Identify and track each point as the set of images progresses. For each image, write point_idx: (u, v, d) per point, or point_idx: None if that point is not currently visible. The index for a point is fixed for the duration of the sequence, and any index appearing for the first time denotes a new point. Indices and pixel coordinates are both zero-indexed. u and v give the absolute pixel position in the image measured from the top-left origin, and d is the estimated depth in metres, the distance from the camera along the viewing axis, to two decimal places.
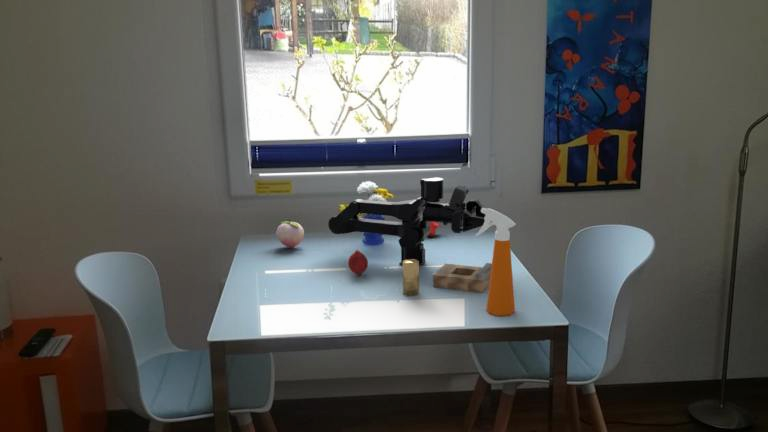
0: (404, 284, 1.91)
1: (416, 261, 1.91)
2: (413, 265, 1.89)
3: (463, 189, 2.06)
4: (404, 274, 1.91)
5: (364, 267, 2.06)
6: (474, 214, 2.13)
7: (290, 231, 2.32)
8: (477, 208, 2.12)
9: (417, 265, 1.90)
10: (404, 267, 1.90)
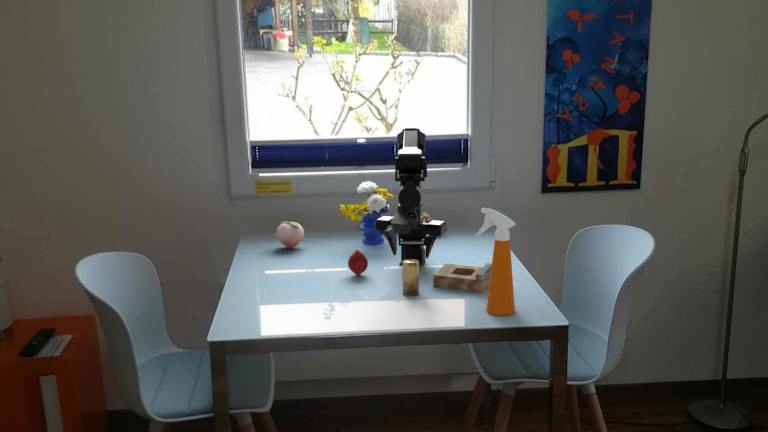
0: (404, 284, 1.91)
1: (416, 261, 1.91)
2: (413, 265, 1.89)
3: (398, 230, 1.82)
4: (404, 274, 1.91)
5: (364, 267, 2.06)
6: None
7: (290, 231, 2.32)
8: None
9: (417, 265, 1.90)
10: (404, 267, 1.90)
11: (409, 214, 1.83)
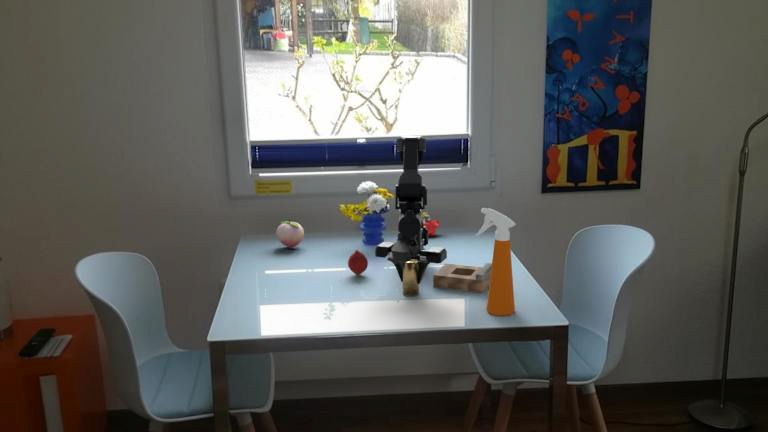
0: (404, 284, 1.91)
1: (416, 261, 1.91)
2: (413, 265, 1.89)
3: (398, 258, 1.83)
4: (404, 274, 1.91)
5: (364, 267, 2.06)
6: None
7: (290, 231, 2.32)
8: None
9: (417, 265, 1.90)
10: (404, 267, 1.90)
11: (409, 241, 1.85)
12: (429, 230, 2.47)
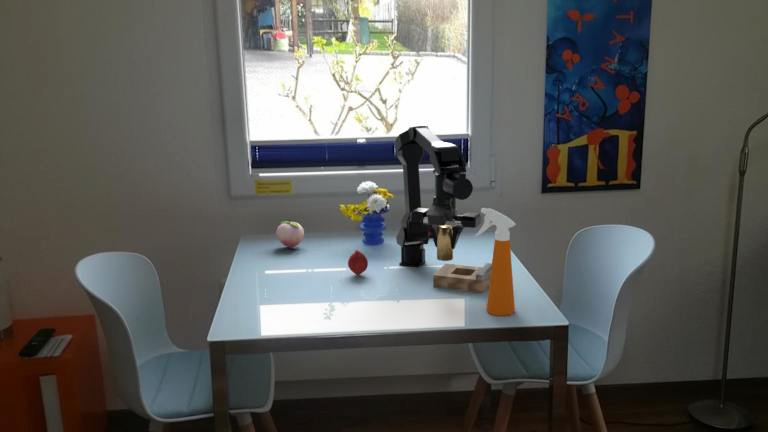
0: (438, 249, 1.94)
1: (450, 226, 1.93)
2: (447, 230, 1.91)
3: (433, 222, 1.86)
4: (438, 239, 1.93)
5: (364, 267, 2.06)
6: None
7: (290, 231, 2.32)
8: None
9: (451, 230, 1.92)
10: (438, 232, 1.92)
11: (444, 206, 1.88)
12: None
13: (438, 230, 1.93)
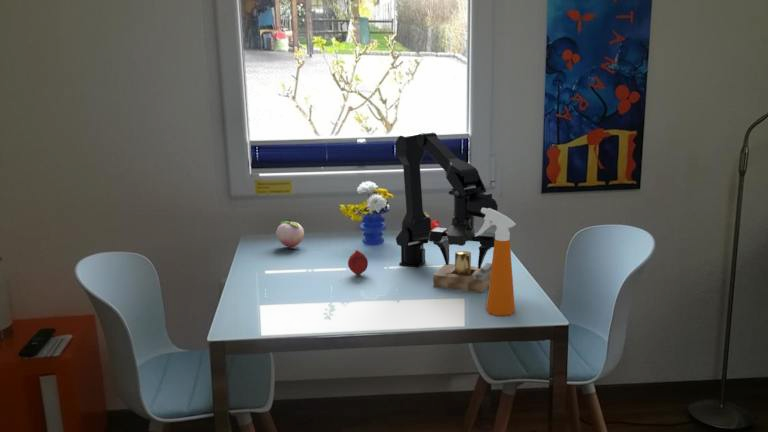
0: None
1: (468, 252, 1.98)
2: (466, 256, 1.96)
3: (453, 242, 1.90)
4: (457, 265, 1.98)
5: (364, 267, 2.06)
6: None
7: (290, 231, 2.32)
8: None
9: (469, 256, 1.97)
10: (457, 258, 1.97)
11: (464, 226, 1.92)
12: None
13: (456, 256, 1.97)
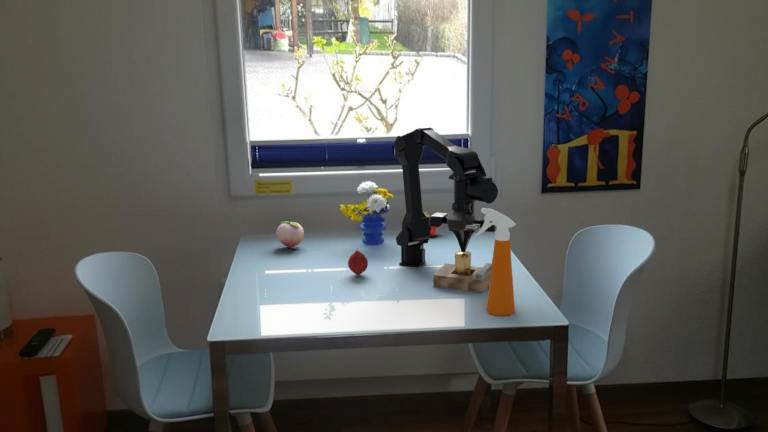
0: None
1: (468, 252, 1.98)
2: (466, 256, 1.96)
3: (453, 226, 1.89)
4: (457, 265, 1.98)
5: (364, 267, 2.06)
6: None
7: (290, 231, 2.32)
8: None
9: (469, 256, 1.97)
10: (457, 258, 1.97)
11: (464, 211, 1.91)
12: None
13: (456, 256, 1.97)
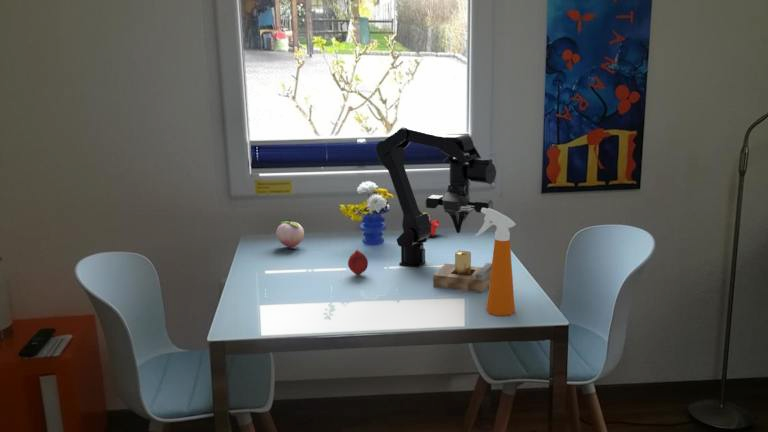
0: None
1: (468, 252, 1.98)
2: (466, 256, 1.96)
3: (448, 207, 1.97)
4: (457, 265, 1.98)
5: (364, 267, 2.06)
6: None
7: (290, 231, 2.32)
8: None
9: (469, 256, 1.97)
10: (457, 258, 1.97)
11: (459, 192, 1.99)
12: None
13: (456, 256, 1.97)
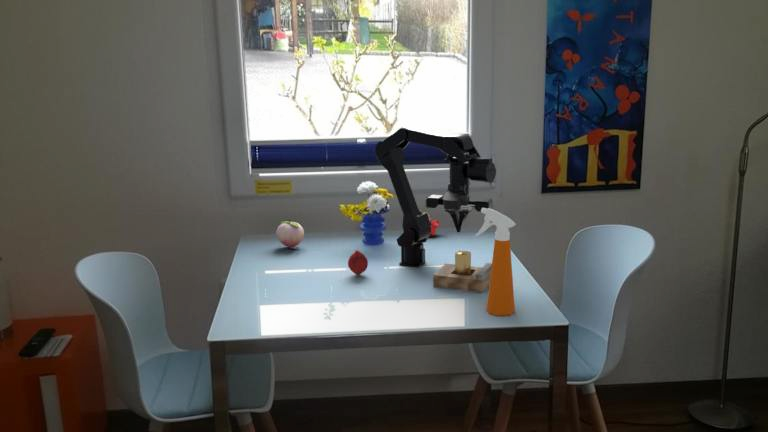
0: None
1: (468, 252, 1.98)
2: (466, 256, 1.96)
3: (449, 206, 1.97)
4: (457, 265, 1.98)
5: (364, 267, 2.06)
6: None
7: (290, 231, 2.32)
8: None
9: (469, 256, 1.97)
10: (457, 258, 1.97)
11: (459, 192, 1.99)
12: None
13: (456, 256, 1.97)
